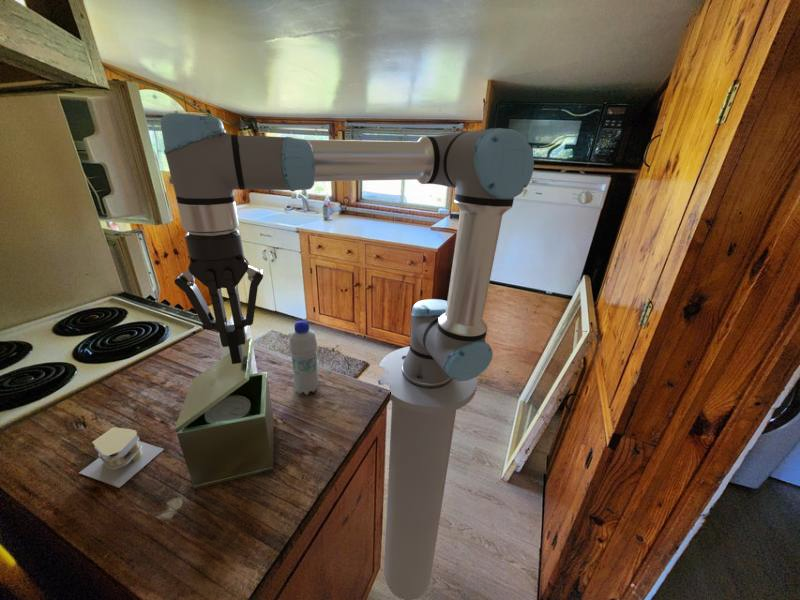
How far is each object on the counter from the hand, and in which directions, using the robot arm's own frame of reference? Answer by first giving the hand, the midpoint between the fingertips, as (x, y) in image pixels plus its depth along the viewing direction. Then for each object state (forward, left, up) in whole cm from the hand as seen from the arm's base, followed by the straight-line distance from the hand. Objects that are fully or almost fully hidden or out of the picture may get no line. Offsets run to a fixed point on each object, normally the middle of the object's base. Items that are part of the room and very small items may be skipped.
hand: (237, 359), depth 59 cm
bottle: (-12, -16, -22) cm, 30 cm away
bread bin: (+3, 0, -22) cm, 22 cm away
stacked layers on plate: (+24, -4, -22) cm, 33 cm away
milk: (+3, -19, -22) cm, 30 cm away
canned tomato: (+3, +1, -22) cm, 22 cm away
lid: (+4, 0, -4) cm, 6 cm away
